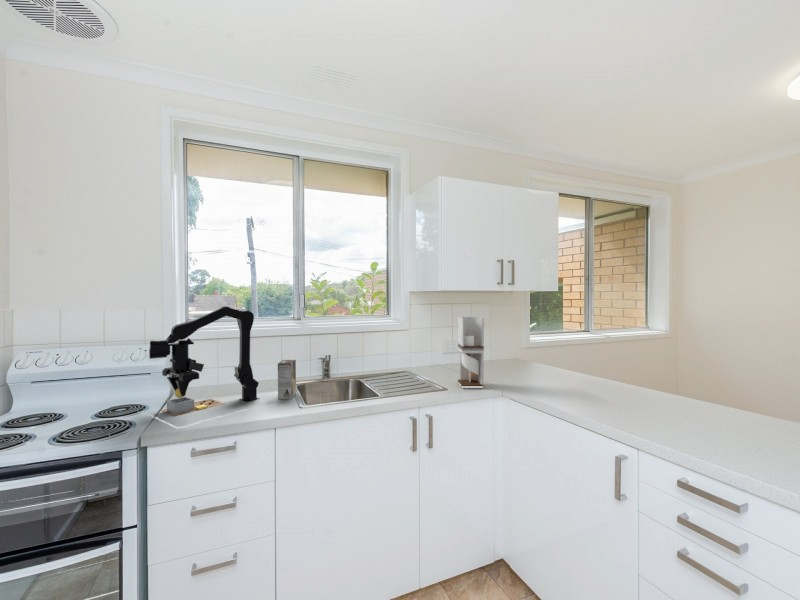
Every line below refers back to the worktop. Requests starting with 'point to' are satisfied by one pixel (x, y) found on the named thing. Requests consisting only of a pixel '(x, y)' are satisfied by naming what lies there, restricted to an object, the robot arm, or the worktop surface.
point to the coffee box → (286, 379)
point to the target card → (200, 407)
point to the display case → (471, 350)
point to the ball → (178, 393)
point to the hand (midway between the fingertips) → (180, 395)
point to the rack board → (206, 402)
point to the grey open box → (180, 405)
